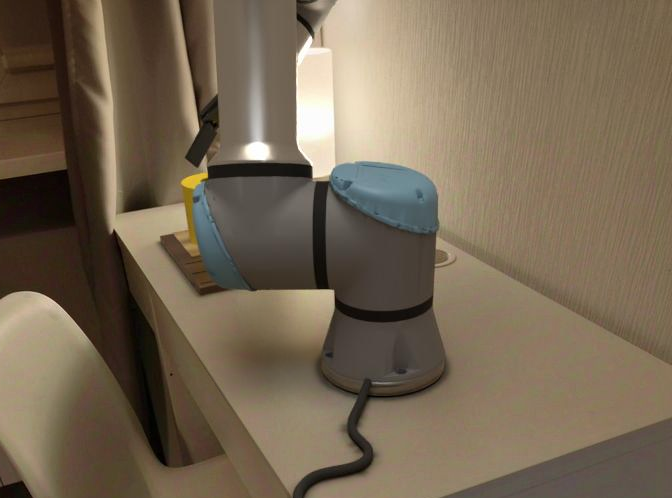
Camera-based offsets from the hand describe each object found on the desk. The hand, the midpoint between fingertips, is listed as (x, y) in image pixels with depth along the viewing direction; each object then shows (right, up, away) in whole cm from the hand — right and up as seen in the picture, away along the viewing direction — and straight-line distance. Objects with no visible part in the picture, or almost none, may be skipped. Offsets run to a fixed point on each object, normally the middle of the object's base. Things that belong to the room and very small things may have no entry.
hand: (213, 170), depth 119 cm
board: (+2, -13, +4) cm, 14 cm away
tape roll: (0, -8, +8) cm, 12 cm away
